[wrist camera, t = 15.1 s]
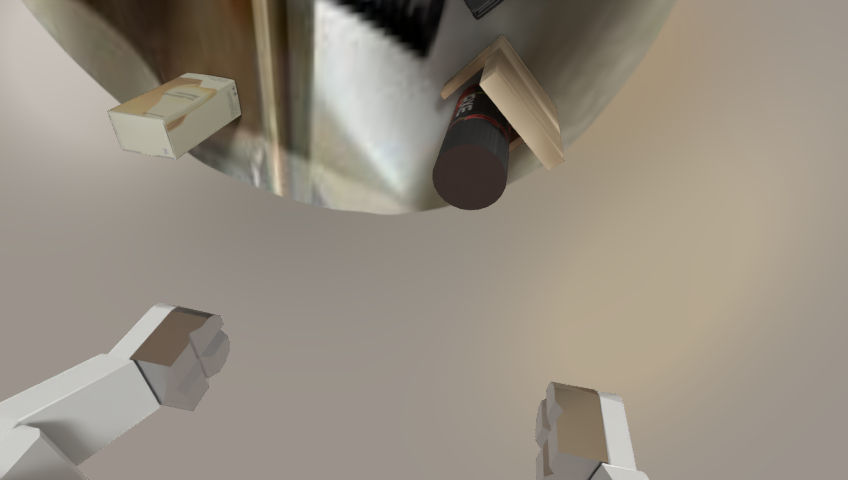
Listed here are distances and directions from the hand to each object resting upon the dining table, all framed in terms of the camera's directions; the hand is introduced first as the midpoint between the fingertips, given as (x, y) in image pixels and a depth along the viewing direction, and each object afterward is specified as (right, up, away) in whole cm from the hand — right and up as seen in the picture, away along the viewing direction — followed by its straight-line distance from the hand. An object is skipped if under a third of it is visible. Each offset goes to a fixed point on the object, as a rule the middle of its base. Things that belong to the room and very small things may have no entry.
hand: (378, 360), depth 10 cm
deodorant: (+8, +17, +36) cm, 40 cm away
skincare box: (-24, +20, +41) cm, 51 cm away
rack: (+9, +18, +34) cm, 40 cm away
